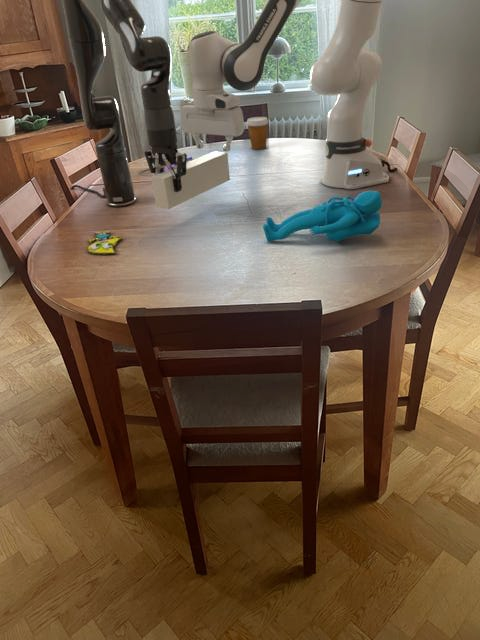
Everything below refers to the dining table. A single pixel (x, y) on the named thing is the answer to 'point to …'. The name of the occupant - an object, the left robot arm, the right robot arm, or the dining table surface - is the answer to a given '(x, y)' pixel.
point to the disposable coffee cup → (257, 131)
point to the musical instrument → (165, 167)
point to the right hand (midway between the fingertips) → (213, 149)
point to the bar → (191, 179)
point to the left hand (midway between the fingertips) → (170, 189)
